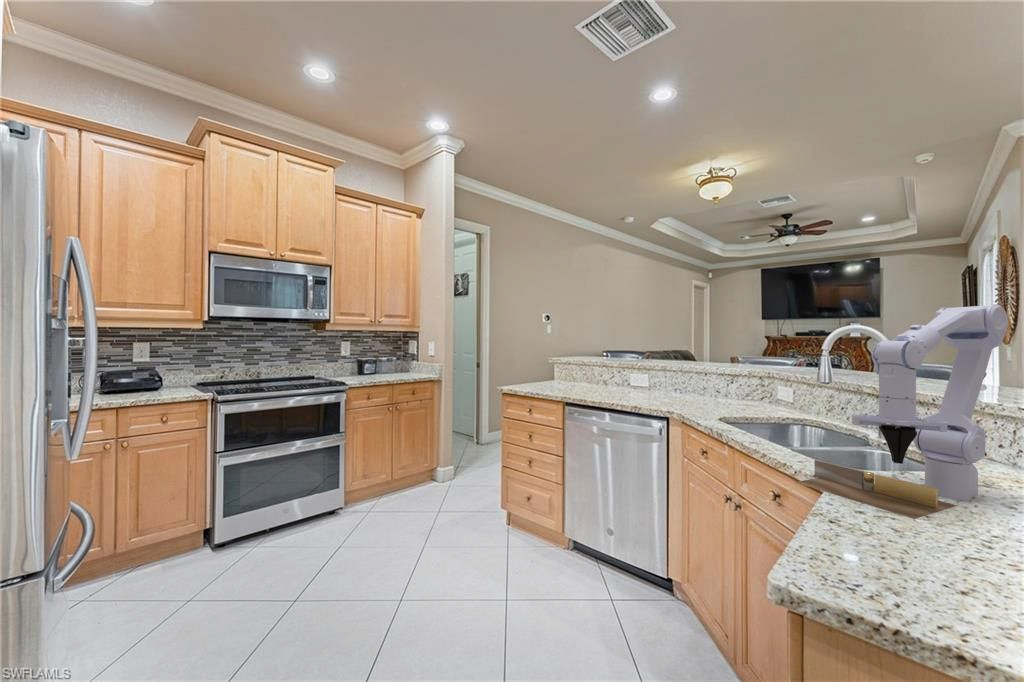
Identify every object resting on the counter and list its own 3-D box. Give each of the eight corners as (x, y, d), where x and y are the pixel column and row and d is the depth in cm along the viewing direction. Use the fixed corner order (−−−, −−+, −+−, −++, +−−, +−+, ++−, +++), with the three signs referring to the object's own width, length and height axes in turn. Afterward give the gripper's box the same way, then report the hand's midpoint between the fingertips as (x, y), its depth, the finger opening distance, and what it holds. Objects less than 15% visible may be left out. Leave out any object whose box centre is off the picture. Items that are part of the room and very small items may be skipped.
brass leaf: (861, 489, 93) (862, 472, 93) (866, 487, 94) (866, 471, 94) (934, 508, 83) (934, 489, 83) (938, 506, 83) (938, 488, 83)
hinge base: (832, 476, 106) (832, 456, 106) (957, 510, 85) (957, 485, 85) (789, 484, 99) (789, 464, 99) (914, 523, 78) (914, 497, 78)
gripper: (855, 397, 87) (855, 461, 87) (952, 402, 79) (953, 473, 79) (850, 393, 93) (850, 453, 93) (940, 398, 85) (940, 464, 85)
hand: (897, 462), depth 87 cm, fingers closed
